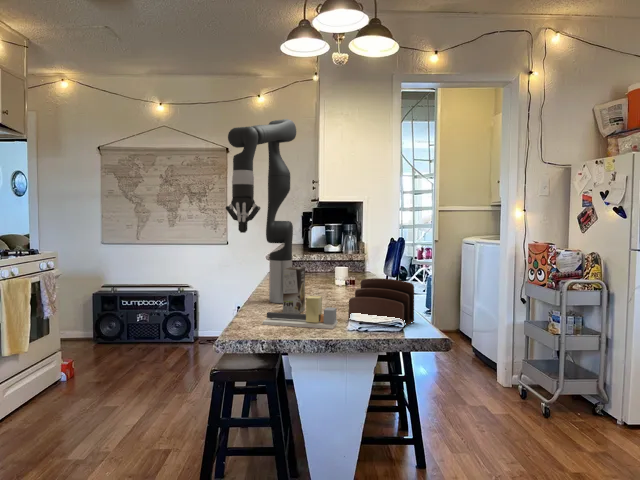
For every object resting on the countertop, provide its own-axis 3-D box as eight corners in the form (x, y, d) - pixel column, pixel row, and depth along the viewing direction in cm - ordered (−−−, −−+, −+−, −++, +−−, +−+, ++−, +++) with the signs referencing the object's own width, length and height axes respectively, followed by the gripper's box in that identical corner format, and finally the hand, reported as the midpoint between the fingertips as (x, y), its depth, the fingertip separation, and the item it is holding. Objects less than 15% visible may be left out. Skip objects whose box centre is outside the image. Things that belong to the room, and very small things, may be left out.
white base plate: (270, 319, 153) (270, 303, 153) (337, 323, 148) (337, 306, 148) (262, 324, 145) (262, 307, 145) (332, 328, 140) (333, 311, 140)
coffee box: (299, 314, 162) (300, 269, 161) (282, 313, 163) (282, 268, 162) (305, 309, 171) (305, 266, 170) (289, 308, 172) (289, 266, 171)
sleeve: (310, 318, 149) (310, 295, 148) (321, 319, 148) (322, 296, 148) (305, 321, 144) (306, 298, 143) (318, 322, 143) (318, 298, 142)
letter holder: (361, 315, 161) (361, 276, 161) (414, 322, 151) (415, 280, 150) (347, 320, 153) (348, 279, 152) (403, 328, 143) (404, 284, 142)
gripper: (264, 184, 163) (264, 232, 164) (230, 184, 166) (229, 232, 167) (256, 182, 156) (256, 233, 157) (221, 183, 159) (221, 232, 159)
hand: (242, 232), depth 162 cm, fingers closed
